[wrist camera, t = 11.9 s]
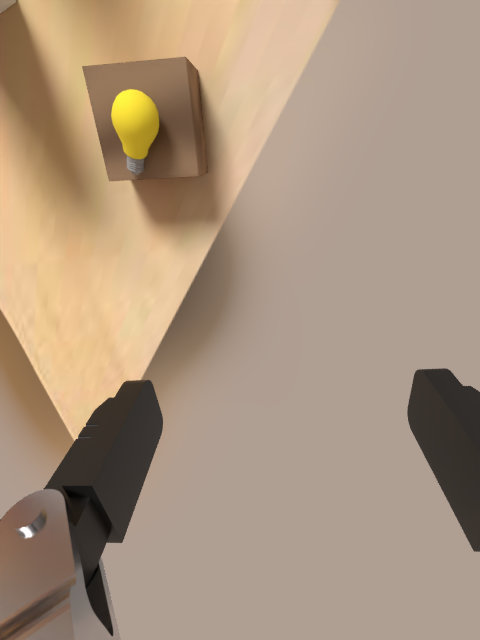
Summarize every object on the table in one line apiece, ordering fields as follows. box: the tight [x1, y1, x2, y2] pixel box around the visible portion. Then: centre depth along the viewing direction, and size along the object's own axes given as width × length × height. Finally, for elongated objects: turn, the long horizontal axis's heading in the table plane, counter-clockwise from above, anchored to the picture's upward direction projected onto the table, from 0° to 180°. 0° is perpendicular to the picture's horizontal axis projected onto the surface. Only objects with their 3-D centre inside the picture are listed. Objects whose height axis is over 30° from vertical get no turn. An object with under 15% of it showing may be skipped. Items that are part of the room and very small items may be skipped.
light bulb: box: [111, 89, 159, 175], centre depth 25 cm, size 3×6×4 cm, turn 164°
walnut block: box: [82, 57, 208, 181], centre depth 28 cm, size 8×8×5 cm
